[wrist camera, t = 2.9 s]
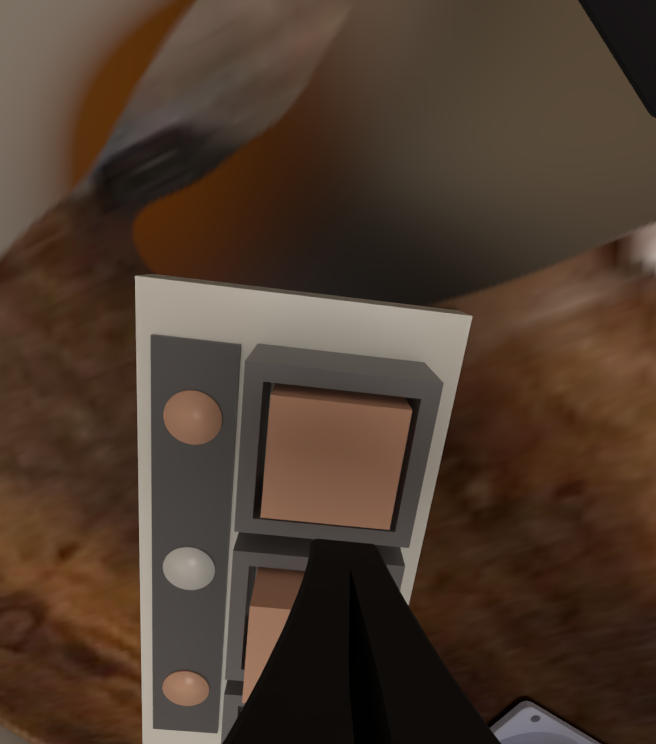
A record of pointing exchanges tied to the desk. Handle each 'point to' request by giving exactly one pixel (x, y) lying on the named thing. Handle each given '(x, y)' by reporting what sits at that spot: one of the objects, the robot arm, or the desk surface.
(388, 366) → the button board
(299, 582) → the button middle
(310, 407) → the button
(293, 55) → the desk surface
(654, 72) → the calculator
